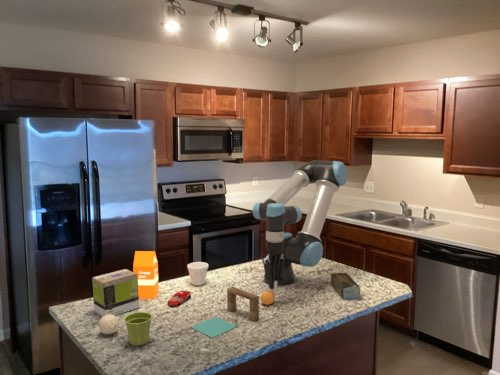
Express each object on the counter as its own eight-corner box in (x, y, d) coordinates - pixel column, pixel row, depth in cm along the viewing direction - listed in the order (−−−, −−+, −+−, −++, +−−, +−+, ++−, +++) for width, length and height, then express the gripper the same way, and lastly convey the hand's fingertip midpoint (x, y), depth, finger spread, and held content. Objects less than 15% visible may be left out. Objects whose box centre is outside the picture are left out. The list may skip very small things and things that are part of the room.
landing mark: (215, 317, 164) (215, 316, 164) (236, 326, 156) (236, 326, 156) (190, 327, 155) (190, 326, 155) (212, 338, 147) (212, 337, 147)
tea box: (127, 301, 180) (126, 267, 178) (139, 308, 173) (138, 273, 171) (93, 311, 169) (91, 276, 168) (104, 319, 162) (103, 282, 160)
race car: (176, 309, 173) (175, 299, 172) (165, 307, 175) (164, 297, 174) (193, 297, 185) (193, 288, 184) (182, 295, 187) (182, 287, 186)
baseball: (103, 340, 146) (102, 321, 145) (96, 332, 152) (96, 314, 151) (122, 334, 150) (121, 316, 149) (115, 327, 156) (114, 309, 155)
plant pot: (118, 345, 142) (117, 321, 141) (136, 333, 151) (135, 310, 150) (142, 350, 139) (141, 325, 137) (158, 338, 147) (157, 314, 146)
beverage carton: (342, 301, 180) (342, 286, 179) (330, 285, 199) (330, 272, 198) (360, 300, 181) (361, 285, 180) (346, 285, 200) (346, 271, 199)
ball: (268, 297, 181) (265, 287, 179) (277, 300, 177) (274, 290, 175) (259, 305, 177) (256, 294, 175) (269, 309, 173) (266, 298, 171)
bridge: (232, 308, 172) (232, 286, 171) (258, 319, 162) (258, 295, 161) (227, 310, 170) (227, 288, 169) (253, 321, 160) (253, 298, 159)
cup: (183, 286, 198) (183, 266, 197) (193, 279, 207) (193, 261, 206) (203, 288, 195) (202, 269, 193) (212, 281, 204) (212, 263, 203)
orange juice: (139, 292, 191) (137, 248, 188) (158, 292, 190) (157, 248, 188) (134, 298, 183) (132, 253, 180) (154, 298, 183) (152, 253, 180)
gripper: (271, 244, 169) (269, 301, 171) (291, 240, 178) (289, 294, 181) (257, 241, 174) (256, 297, 176) (278, 237, 184) (276, 290, 186)
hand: (273, 295), depth 178 cm, fingers closed
